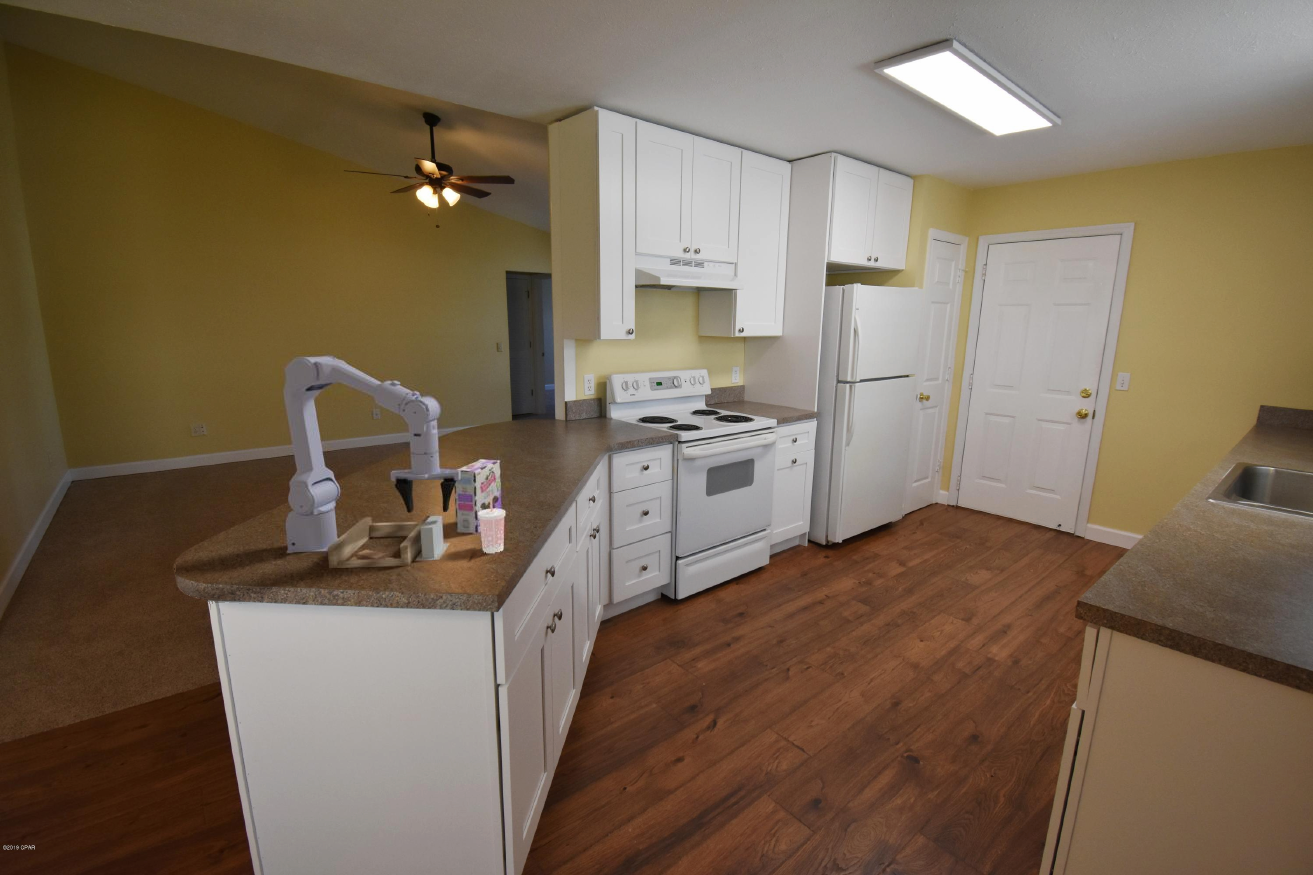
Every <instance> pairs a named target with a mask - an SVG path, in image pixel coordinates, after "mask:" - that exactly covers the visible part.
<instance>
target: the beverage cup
mask: <svg viewBox="0 0 1313 875" xmlns="http://www.w3.org/2000/svg"><path fill="white" fill-rule="evenodd" d="M505 517H506V510H505V509H503V508H502V509H496V508H495V509H493V507H492V491H490V509H485V510H482V511H480V512H478V518H479V521H480V529H481V532H480V536H481V544H482V552H483V551H484V552H483V553H485V552H486V554H496V553H495V552H498V553H500V551H501V552H502V551H504V542H505V541H504V539H505V536H504V535H505Z"/></svg>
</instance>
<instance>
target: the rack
mask: <svg viewBox="0 0 1313 875" xmlns="http://www.w3.org/2000/svg"><path fill="white" fill-rule="evenodd" d="M430 516H431V515H426V516H425V517H424V519H422V521H407V522H406V521H405V522H403V521H402V522H373V521H372V517H371V516H370V517H369V516H367V517H365V516H364V518H362V519H361V520H359V521H358V522H357V523H356V524H355V525H353V526H352V527H351V528H350V529H348V530H347V531H346V532H345V533H344V534H342V535H341V536H340V537H339V539H338V540H336V541H335V542H334V543H333V544H331V545H330V546H329V547H328V548H327V549H328V551H327V557H328V566H329V567H328V568H329V569H342V568H344V569H345V568H370V567H371V568H374V567H399V566H401V567H402V566H404V567H405V566H410V565H411V564H412V562H413V561H415V559H416V558H417V557H418V556H419V554H420V553H421V552H422V543H421V527H422V525H423V524H424V523H425V522H426V521H427V520H428V519H429V517H430ZM384 537H385V538H386V537H388V538H389V537H406V539H405V540H403V541H402V543H401V544H400V546H399V548H400V558H394V559H372V560H351V559H348V558H350V557H351V555H353V554H354V553H355V552H356V551H357V550H358V549H359V548H360V547H361V546H363V544H364V543H366V542H367V541H368V540H369V539H370V538H384Z"/></svg>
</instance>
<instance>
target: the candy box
mask: <svg viewBox="0 0 1313 875" xmlns="http://www.w3.org/2000/svg"><path fill="white" fill-rule="evenodd" d="M456 470H461V478H460V480H457V481H456V484H455V486H454V502H455V503H454V504H455V523H456V524H455V527H456V533H462V534H473V535H475V534H479V533H481V529H480V521H479V518H478V512H480V511H482V510H485V509H490V491H492V507H493V509H495V508H496V509H503V507H502V504H503V503H502V502H503V501H502V482H501V481H502V480H501V460H498V459H497V460H496V459H482V458H480V459H478V460H477V461H475V462H472V463H470V464H467V465H465V466H462V467H460V468H457V469H456Z"/></svg>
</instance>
